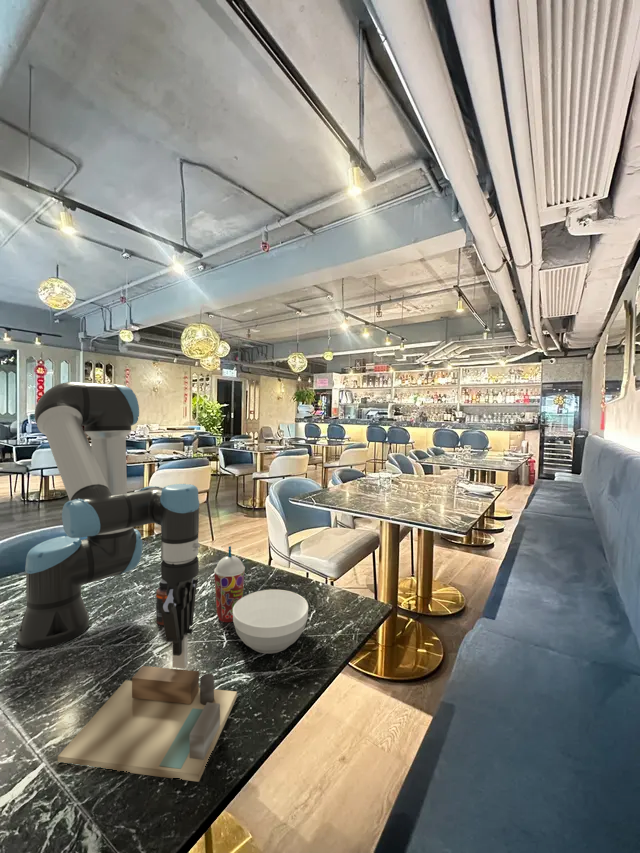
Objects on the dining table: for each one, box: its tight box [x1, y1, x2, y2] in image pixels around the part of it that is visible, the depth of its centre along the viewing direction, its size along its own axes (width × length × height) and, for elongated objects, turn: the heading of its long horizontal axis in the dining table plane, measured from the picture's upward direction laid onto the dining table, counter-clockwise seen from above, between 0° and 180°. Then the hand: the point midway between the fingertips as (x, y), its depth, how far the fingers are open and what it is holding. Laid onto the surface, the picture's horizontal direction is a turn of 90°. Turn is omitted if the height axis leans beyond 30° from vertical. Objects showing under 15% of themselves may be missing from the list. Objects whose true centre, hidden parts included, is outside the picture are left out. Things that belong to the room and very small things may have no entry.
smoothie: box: [213, 545, 246, 623], centre depth 108 cm, size 8×8×20 cm
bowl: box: [233, 589, 309, 655], centre depth 98 cm, size 19×19×9 cm
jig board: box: [57, 673, 238, 783], centre depth 71 cm, size 24×18×6 cm
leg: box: [131, 665, 200, 704], centre depth 77 cm, size 12×4×4 cm, turn 83°
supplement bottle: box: [155, 578, 168, 626], centre depth 106 cm, size 6×6×11 cm
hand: (180, 665), depth 84 cm, fingers closed
